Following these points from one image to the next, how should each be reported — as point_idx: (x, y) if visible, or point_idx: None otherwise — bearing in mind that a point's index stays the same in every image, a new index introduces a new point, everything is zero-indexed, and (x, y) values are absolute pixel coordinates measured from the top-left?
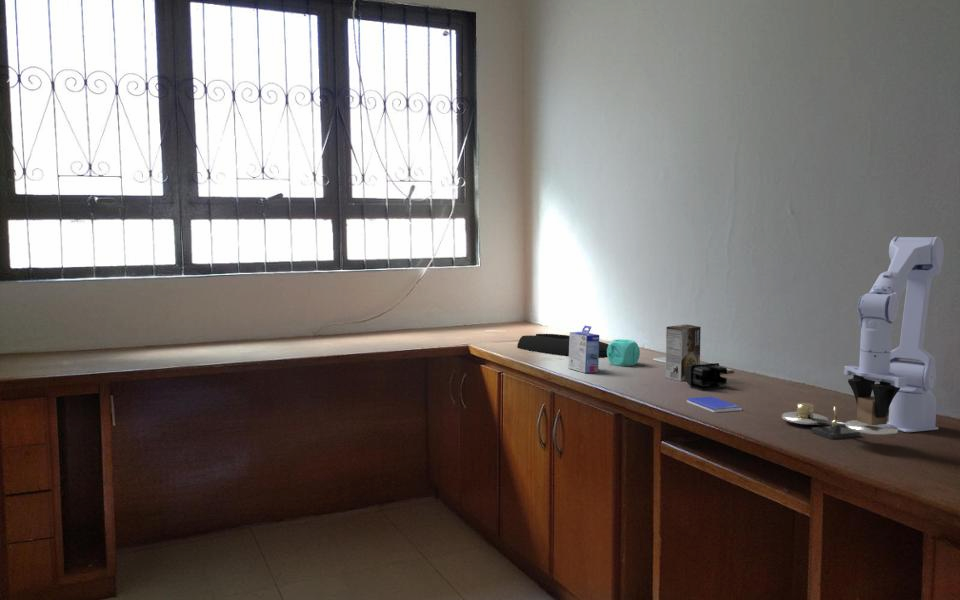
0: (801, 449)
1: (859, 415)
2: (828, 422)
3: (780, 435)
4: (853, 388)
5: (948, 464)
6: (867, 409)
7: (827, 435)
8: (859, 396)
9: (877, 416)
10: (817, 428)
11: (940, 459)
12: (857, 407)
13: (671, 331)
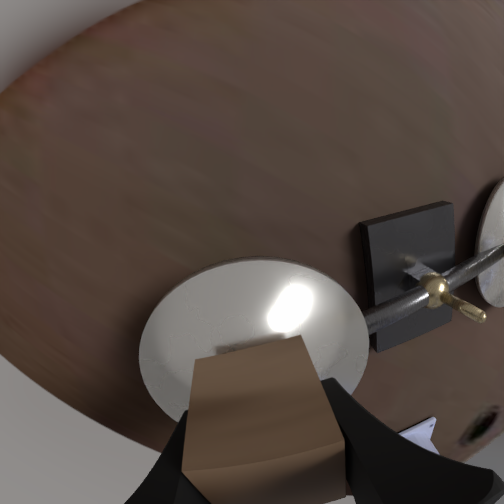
0: (220, 27)
1: (288, 360)
2: (452, 271)
3: (412, 63)
4: (420, 470)
5: (82, 410)
6: (226, 412)
7: (380, 219)
8: (355, 453)
9: (183, 413)
10: (444, 221)
11: (121, 421)
12: (318, 385)
13: None
